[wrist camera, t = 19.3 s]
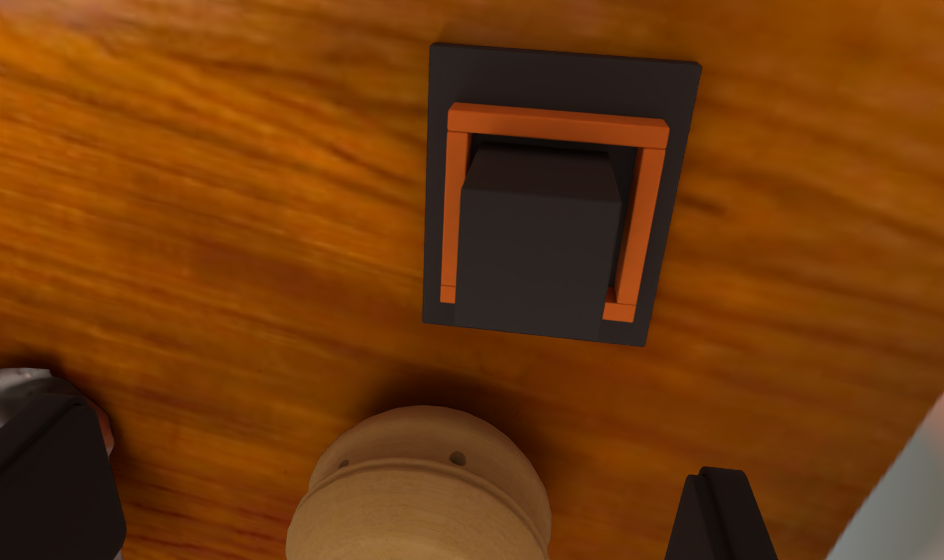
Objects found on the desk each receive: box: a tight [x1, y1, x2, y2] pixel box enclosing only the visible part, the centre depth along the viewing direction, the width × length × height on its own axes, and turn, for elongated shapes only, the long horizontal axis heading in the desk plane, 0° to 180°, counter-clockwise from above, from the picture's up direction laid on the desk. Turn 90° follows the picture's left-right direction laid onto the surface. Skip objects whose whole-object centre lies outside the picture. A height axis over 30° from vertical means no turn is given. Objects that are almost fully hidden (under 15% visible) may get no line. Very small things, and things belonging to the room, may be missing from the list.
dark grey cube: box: [454, 141, 622, 341], centre depth 24 cm, size 5×5×6 cm
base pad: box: [422, 42, 702, 347], centre depth 26 cm, size 12×10×2 cm
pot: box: [285, 405, 552, 560], centre depth 30 cm, size 12×12×10 cm
